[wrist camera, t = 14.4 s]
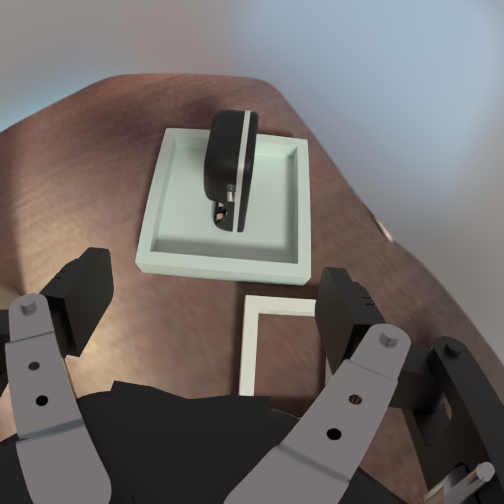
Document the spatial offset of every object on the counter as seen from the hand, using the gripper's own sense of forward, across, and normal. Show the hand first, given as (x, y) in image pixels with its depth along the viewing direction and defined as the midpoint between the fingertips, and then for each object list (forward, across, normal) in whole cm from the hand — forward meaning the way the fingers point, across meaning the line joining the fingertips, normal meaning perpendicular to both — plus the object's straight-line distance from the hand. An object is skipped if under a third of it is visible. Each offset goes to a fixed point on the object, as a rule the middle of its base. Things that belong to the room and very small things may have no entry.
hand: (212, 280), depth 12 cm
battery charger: (+22, 0, +4) cm, 23 cm away
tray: (+23, 0, +4) cm, 23 cm away
